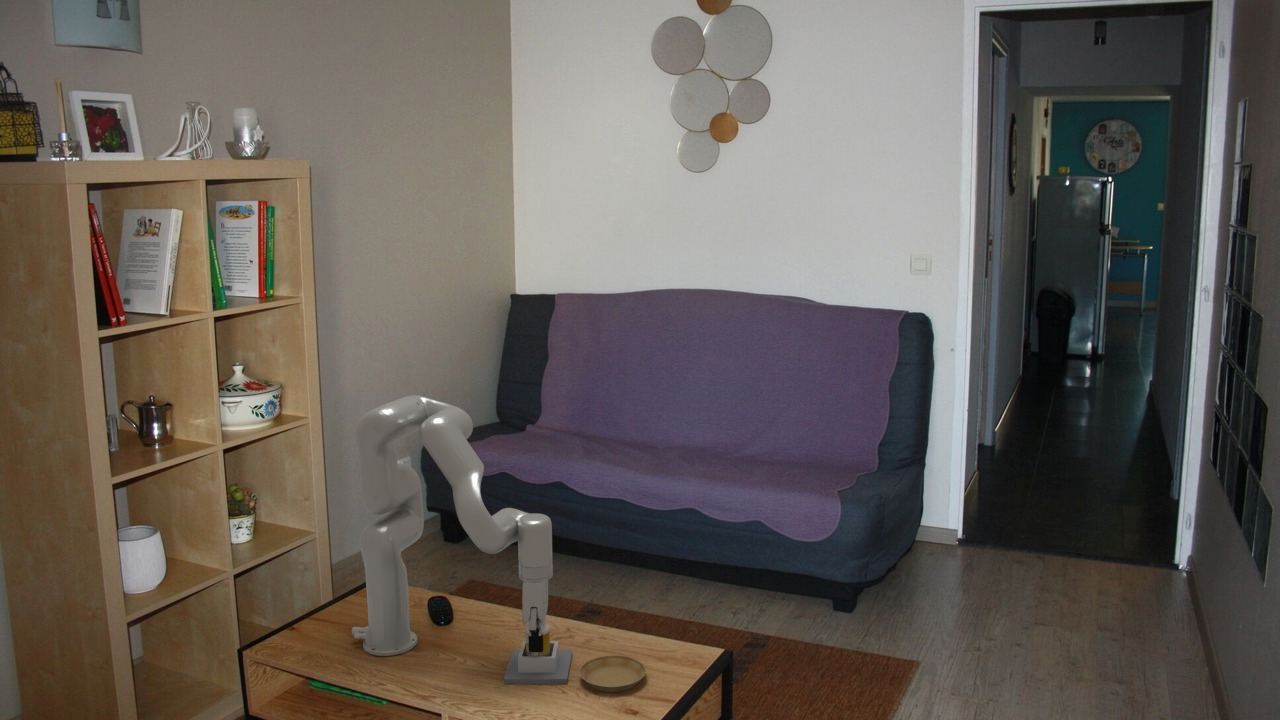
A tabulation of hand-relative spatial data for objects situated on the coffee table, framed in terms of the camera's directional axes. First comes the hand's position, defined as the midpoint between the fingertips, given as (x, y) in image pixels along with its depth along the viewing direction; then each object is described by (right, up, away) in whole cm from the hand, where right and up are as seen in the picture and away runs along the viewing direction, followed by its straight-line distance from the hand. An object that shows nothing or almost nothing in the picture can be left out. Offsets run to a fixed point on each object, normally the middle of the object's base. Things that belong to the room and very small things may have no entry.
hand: (537, 644), depth 232 cm
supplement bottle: (0, -3, +1) cm, 3 cm away
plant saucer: (+17, -7, -4) cm, 19 cm away
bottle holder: (0, -6, +1) cm, 6 cm away
